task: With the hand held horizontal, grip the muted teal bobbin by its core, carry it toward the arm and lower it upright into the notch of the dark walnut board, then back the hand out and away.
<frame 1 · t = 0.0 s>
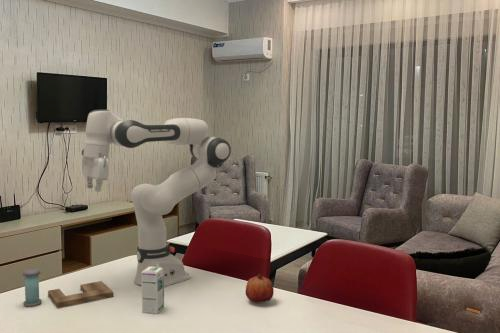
hand: (93, 190, 173), 39 cm above the table, tool pointing down, fingers open, 8 cm apart
bobbin: (32, 304, 164), on the table
notched board: (73, 295, 173), on the table
syrup box: (153, 310, 161), on the table
fruit: (259, 302, 170), on the table
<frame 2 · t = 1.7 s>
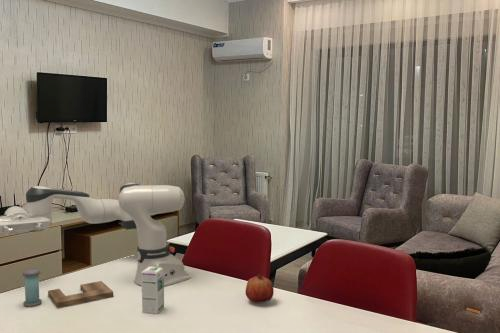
hand: (24, 230, 175), 23 cm above the table, tool horizontal, fingers open, 8 cm apart
nothing on the table moved.
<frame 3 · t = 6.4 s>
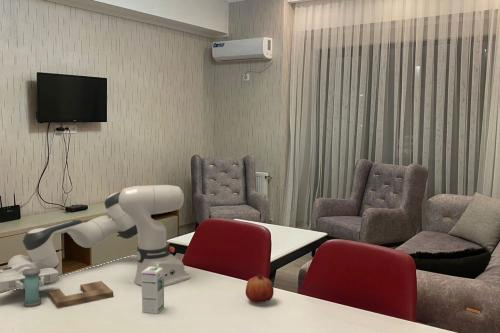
hand: (32, 285, 163), 7 cm above the table, tool horizontal, fingers closed on bobbin, 4 cm apart
bobbin: (32, 304, 164), on the table, touching gripper
everything else where it was.
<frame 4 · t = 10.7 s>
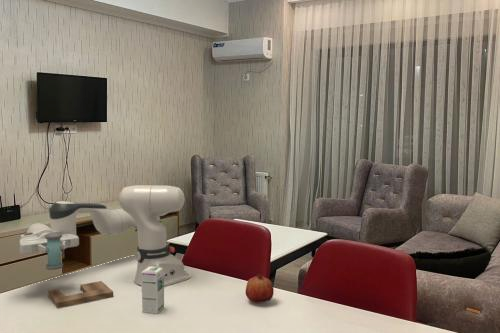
hand: (54, 248, 167), 19 cm above the table, tool horizontal, fingers closed on bobbin, 4 cm apart
bobbin: (54, 267, 168), point 12 cm above the table, touching gripper
everything else where it was.
when the fingers open (8 cm above the table, at t = 14.9 s): bobbin drops 1 cm, resting in notched board.
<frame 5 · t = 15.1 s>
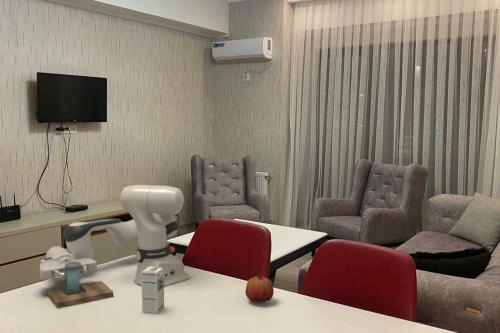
hand: (73, 274, 171), 8 cm above the table, tool horizontal, fingers open, 6 cm apart
bobbin: (73, 295, 173), resting in notched board
everything else where it was.
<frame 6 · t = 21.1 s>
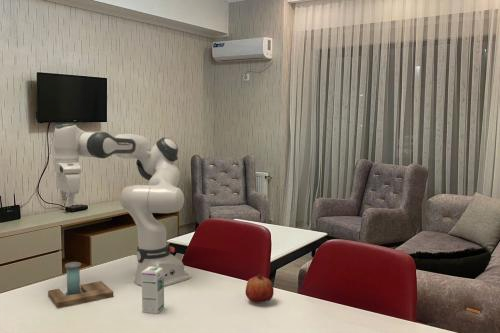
hand: (67, 202, 178), 33 cm above the table, tool pointing down, fingers open, 8 cm apart
nothing on the table moved.
at the end: bobbin 0.0 cm off-centre on the notched board, point 0.0 cm above the notched board's base; bobbin tilted 0°; the gripper is holding nothing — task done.
